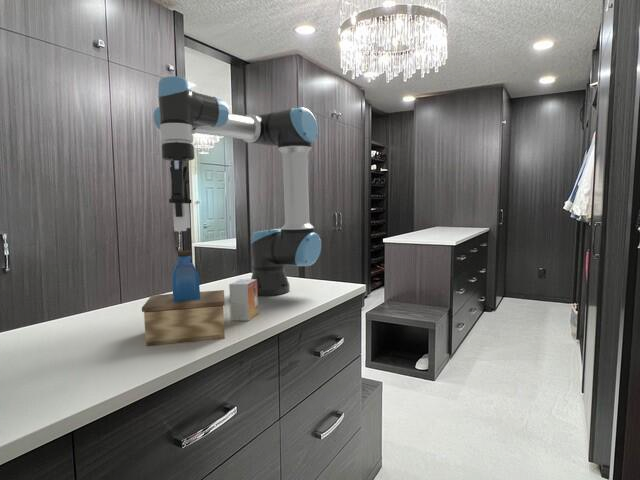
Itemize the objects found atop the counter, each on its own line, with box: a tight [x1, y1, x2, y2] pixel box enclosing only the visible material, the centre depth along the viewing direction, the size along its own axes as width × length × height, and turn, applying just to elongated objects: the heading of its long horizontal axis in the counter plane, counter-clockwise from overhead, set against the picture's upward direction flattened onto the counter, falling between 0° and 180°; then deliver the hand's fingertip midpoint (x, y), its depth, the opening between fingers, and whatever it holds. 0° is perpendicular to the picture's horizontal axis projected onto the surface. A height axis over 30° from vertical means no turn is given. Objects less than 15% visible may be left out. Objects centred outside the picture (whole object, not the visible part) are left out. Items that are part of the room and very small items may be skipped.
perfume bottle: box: [171, 250, 201, 302], centre depth 105 cm, size 6×6×12 cm
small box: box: [228, 278, 259, 322], centre depth 120 cm, size 8×6×10 cm
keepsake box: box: [143, 305, 226, 347], centre depth 106 cm, size 18×14×8 cm
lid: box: [141, 289, 226, 313], centre depth 105 cm, size 19×14×2 cm
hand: (182, 229), depth 104 cm, fingers open, 13 cm apart
